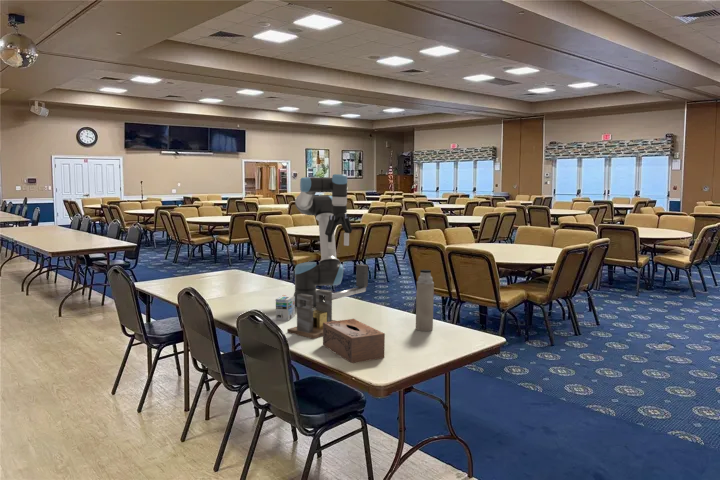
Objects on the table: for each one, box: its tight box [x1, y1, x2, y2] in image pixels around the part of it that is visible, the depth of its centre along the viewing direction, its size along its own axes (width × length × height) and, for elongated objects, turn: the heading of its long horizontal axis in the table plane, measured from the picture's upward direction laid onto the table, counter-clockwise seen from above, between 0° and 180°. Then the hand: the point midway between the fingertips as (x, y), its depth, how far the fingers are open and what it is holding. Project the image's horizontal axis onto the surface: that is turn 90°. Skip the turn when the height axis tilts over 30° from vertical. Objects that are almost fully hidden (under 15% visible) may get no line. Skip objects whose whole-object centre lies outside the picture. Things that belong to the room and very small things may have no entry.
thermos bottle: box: [415, 269, 435, 332], centre depth 258 cm, size 8×8×28 cm
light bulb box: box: [275, 294, 296, 322], centre depth 276 cm, size 11×7×11 cm, turn 169°
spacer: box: [313, 309, 327, 329], centre depth 255 cm, size 5×7×7 cm
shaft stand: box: [287, 288, 336, 339], centre depth 256 cm, size 26×16×18 cm, turn 143°
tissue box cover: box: [322, 318, 386, 364], centre depth 224 cm, size 26×14×10 cm, turn 29°
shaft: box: [323, 263, 369, 302], centre depth 270 cm, size 30×5×14 cm, turn 143°
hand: (338, 247), depth 281 cm, fingers open, 13 cm apart
